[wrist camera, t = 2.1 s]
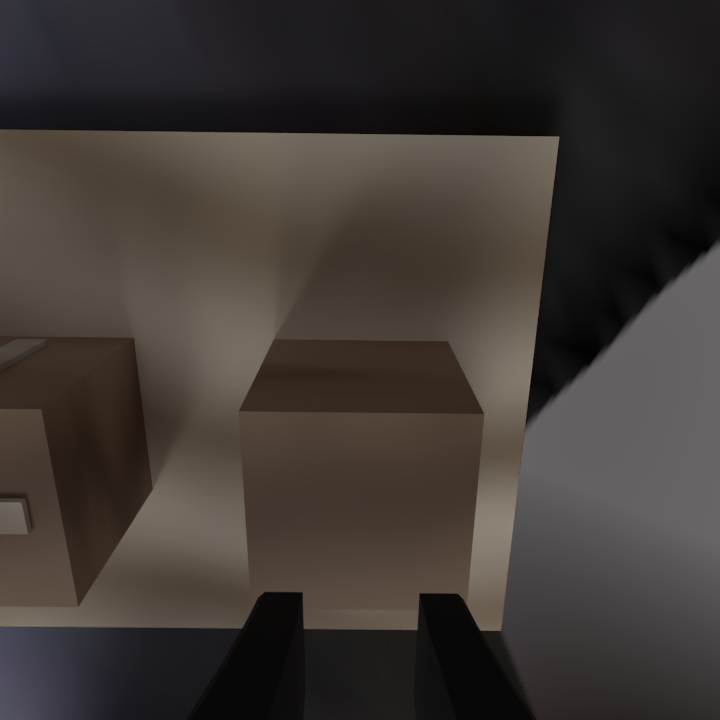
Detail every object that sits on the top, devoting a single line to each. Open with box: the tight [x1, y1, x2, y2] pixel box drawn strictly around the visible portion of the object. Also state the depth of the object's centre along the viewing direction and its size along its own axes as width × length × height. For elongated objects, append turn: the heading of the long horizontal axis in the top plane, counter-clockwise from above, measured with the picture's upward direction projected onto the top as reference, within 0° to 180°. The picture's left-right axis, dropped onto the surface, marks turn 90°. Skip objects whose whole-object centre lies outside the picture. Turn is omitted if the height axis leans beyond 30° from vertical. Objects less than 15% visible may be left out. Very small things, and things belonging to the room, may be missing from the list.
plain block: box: [239, 339, 484, 610], centre depth 15 cm, size 5×5×5 cm
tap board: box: [0, 129, 559, 631], centre depth 17 cm, size 16×28×1 cm, turn 89°
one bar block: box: [0, 336, 153, 607], centre depth 15 cm, size 5×5×5 cm
